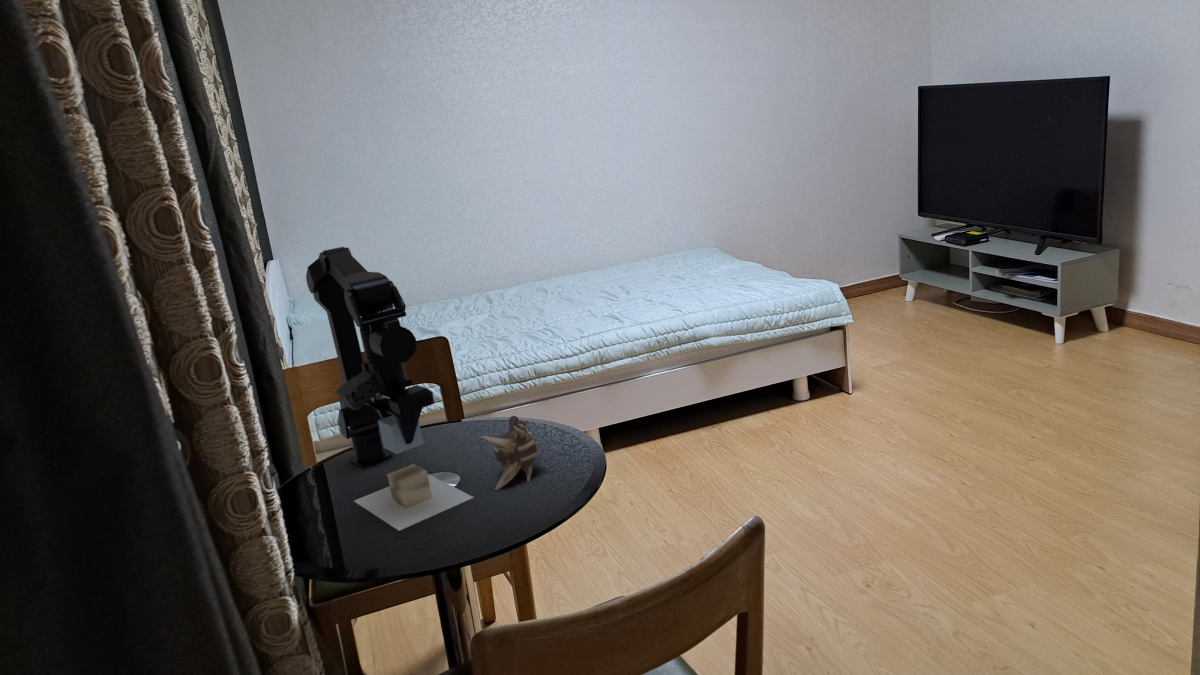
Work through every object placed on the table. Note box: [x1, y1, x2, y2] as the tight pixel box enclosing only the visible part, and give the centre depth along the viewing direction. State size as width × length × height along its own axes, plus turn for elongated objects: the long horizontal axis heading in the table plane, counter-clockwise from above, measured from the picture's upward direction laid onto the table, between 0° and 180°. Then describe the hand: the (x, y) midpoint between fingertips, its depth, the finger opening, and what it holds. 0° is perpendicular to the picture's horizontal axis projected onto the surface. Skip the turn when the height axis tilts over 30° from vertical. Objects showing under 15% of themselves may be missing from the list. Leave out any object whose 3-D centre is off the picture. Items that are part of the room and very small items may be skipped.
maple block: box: [386, 463, 432, 508], centre depth 144 cm, size 5×5×5 cm
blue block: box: [378, 415, 425, 455], centre depth 142 cm, size 5×5×5 cm
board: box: [353, 473, 474, 532], centre depth 145 cm, size 18×14×1 cm
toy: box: [480, 415, 539, 491], centre depth 149 cm, size 11×8×15 cm
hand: (402, 440), depth 142 cm, fingers closed on blue block, 5 cm apart
